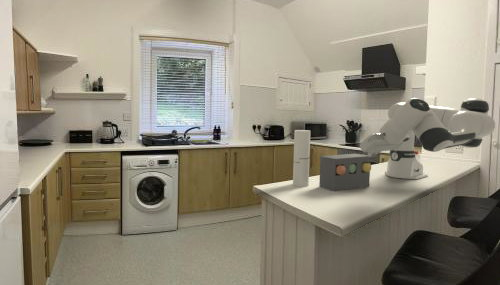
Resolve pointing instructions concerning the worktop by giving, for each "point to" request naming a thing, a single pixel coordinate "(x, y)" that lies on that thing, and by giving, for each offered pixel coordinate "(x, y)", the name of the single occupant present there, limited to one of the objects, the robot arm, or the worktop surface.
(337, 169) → the terracotta button
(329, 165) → the control panel
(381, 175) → the worktop surface
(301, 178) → the cylindrical container
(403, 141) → the robot arm
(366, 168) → the ochre button
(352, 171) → the sage green button
